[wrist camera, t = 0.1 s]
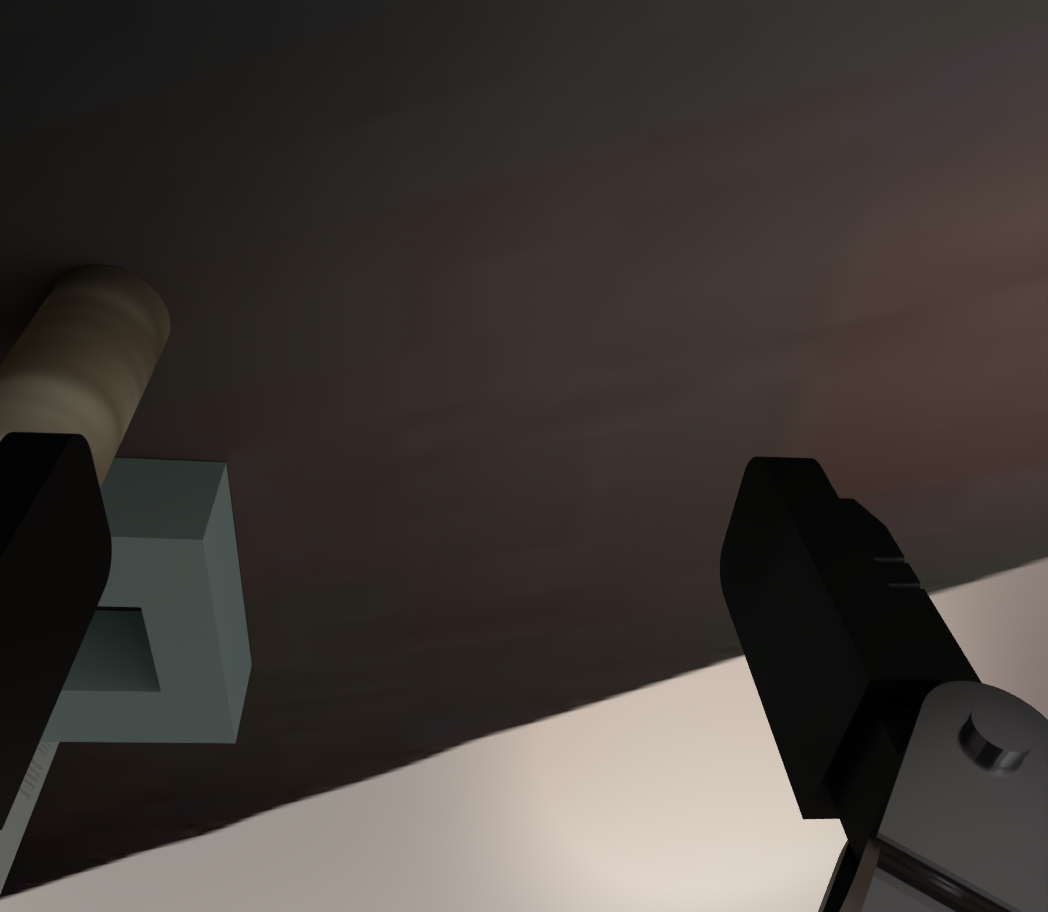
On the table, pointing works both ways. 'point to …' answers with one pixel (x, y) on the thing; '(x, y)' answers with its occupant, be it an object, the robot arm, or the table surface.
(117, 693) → the socket block
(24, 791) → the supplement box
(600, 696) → the table surface
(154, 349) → the tall pin
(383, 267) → the table surface
